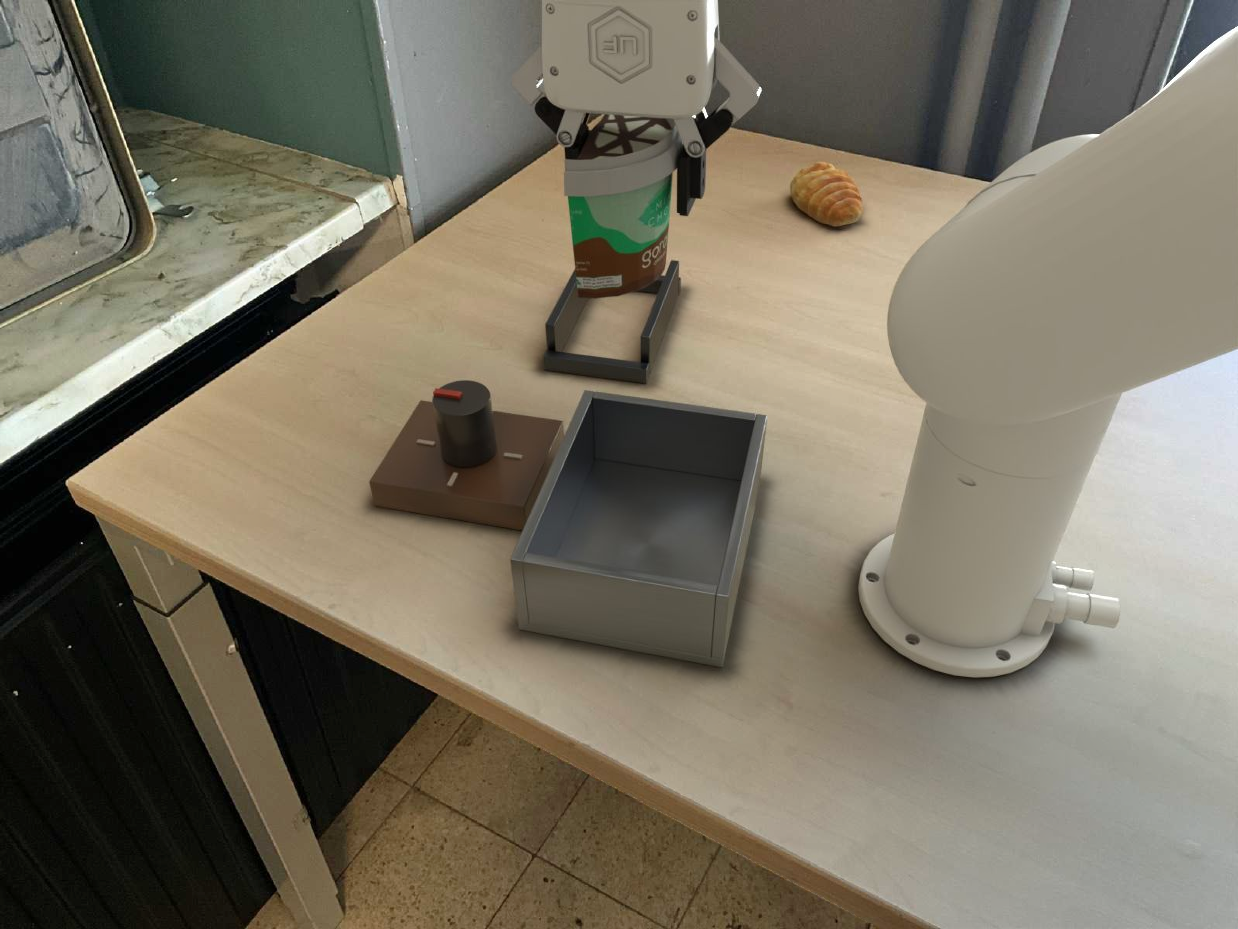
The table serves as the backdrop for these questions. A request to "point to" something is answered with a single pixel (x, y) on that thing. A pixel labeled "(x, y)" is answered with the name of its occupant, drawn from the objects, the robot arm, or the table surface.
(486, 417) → the tap knob
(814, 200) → the pastry
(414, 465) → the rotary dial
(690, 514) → the grey open box
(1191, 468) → the table surface
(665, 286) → the dish rack
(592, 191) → the food container
